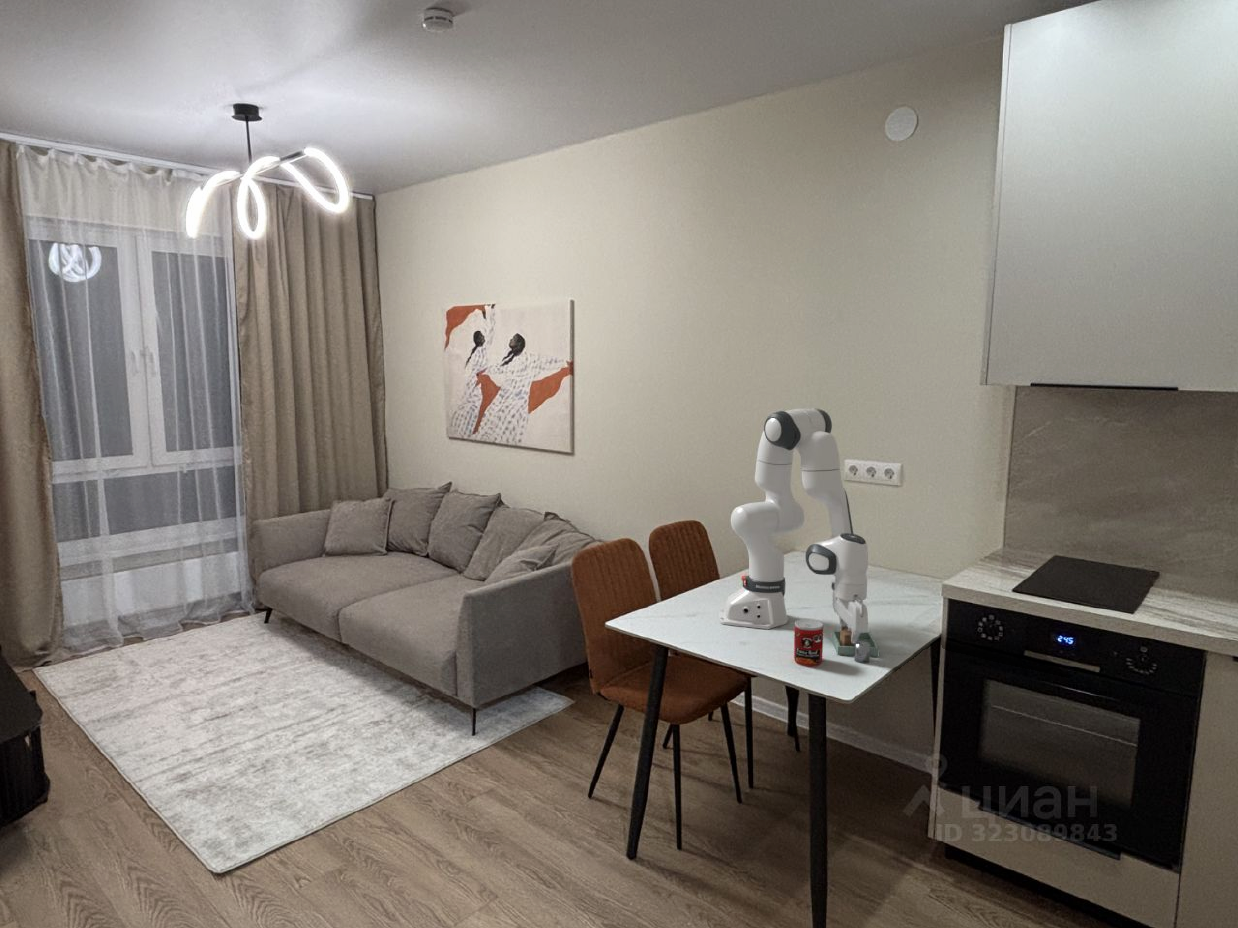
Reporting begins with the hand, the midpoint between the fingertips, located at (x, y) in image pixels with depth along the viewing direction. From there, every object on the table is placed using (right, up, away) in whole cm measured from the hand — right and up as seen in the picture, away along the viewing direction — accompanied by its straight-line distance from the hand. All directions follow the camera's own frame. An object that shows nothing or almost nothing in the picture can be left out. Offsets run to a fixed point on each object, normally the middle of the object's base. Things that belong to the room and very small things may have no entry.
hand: (849, 637), depth 217 cm
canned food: (-14, -5, -7) cm, 16 cm away
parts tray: (+2, -4, +3) cm, 5 cm away
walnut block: (0, -4, 0) cm, 4 cm away
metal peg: (+1, -5, -7) cm, 8 cm away
